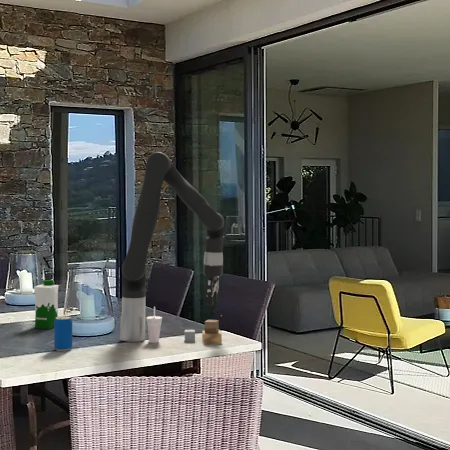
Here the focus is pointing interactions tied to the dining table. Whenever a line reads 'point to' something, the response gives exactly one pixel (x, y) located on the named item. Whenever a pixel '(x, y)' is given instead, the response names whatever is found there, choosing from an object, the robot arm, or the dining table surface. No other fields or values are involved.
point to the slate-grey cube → (189, 335)
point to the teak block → (212, 338)
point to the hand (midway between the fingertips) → (211, 304)
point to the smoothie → (154, 327)
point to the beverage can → (63, 333)
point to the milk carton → (46, 304)
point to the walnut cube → (211, 326)
